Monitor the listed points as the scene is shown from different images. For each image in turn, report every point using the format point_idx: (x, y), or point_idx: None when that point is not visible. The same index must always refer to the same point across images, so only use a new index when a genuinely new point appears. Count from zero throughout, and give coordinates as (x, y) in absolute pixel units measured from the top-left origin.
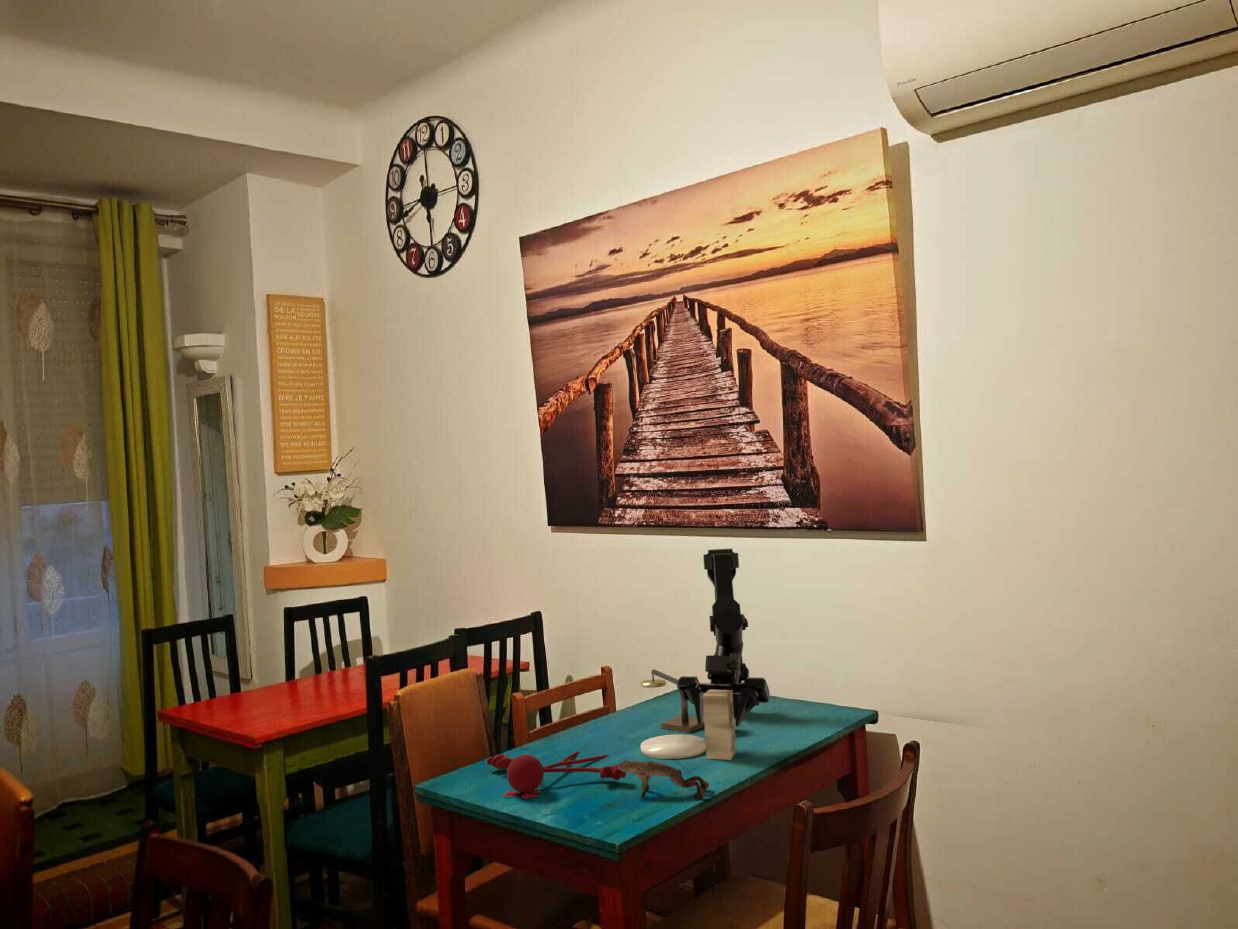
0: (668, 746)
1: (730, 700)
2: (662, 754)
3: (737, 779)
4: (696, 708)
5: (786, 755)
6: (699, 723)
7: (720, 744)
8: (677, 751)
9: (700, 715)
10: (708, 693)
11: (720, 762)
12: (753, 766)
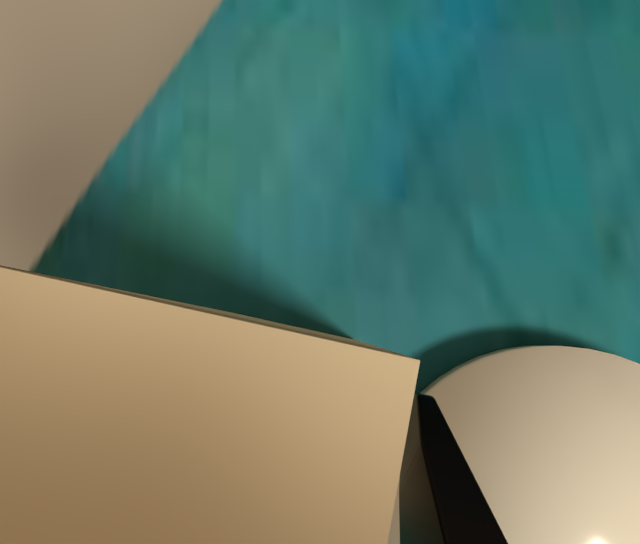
0: (594, 490)
1: None
2: (601, 352)
3: (208, 37)
4: (489, 540)
5: None
6: (416, 393)
7: (266, 320)
8: (522, 378)
9: (420, 460)
10: (295, 536)
11: (282, 275)
12: (131, 205)
